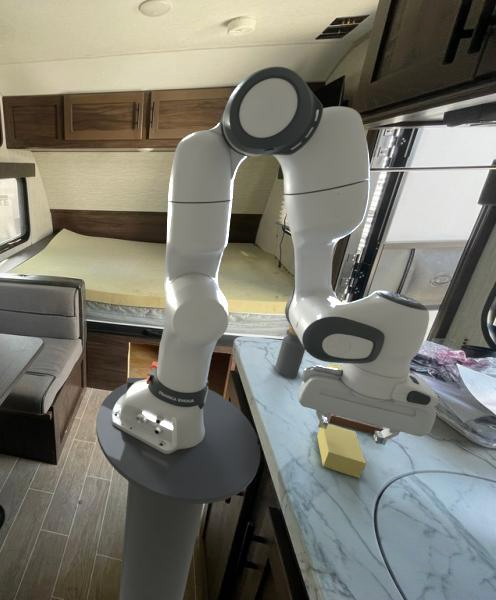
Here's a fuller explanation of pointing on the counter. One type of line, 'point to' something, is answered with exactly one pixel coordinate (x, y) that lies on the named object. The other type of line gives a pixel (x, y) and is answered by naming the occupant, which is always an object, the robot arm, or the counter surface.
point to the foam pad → (341, 450)
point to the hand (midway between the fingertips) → (348, 433)
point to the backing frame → (354, 424)
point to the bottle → (290, 355)
